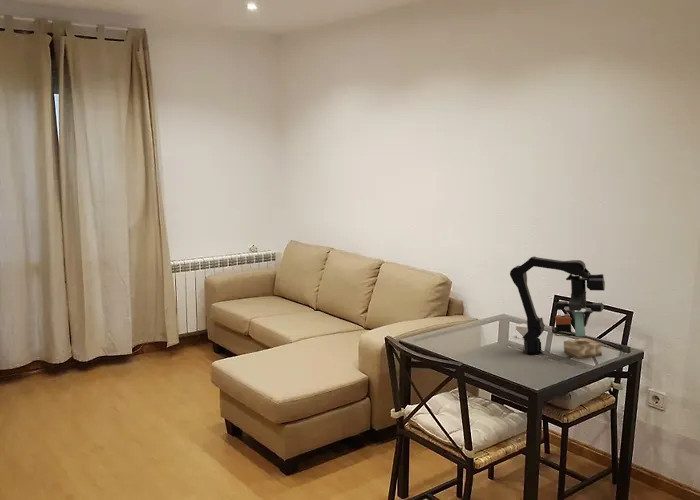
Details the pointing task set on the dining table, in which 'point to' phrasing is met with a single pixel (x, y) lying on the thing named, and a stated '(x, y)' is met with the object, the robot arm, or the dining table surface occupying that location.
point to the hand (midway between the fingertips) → (579, 326)
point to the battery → (563, 323)
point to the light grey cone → (522, 329)
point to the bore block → (582, 348)
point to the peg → (579, 323)
